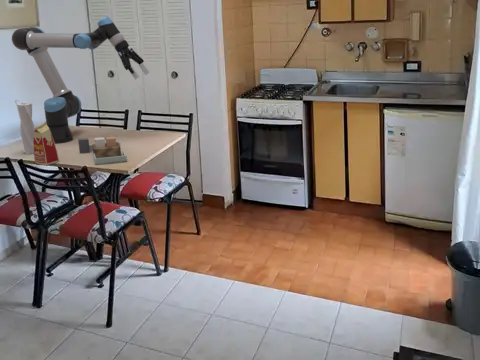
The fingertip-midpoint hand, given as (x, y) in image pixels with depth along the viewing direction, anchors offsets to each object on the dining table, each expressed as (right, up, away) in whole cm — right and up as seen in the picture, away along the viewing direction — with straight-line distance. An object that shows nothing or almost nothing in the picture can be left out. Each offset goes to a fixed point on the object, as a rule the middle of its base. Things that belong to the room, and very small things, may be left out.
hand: (142, 75), depth 310 cm
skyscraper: (-56, -43, -16) cm, 73 cm away
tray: (-11, -48, -32) cm, 58 cm away
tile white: (-17, -40, -25) cm, 50 cm away
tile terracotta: (-12, -40, -24) cm, 48 cm away
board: (-14, -45, -22) cm, 52 cm away
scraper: (-20, -42, -14) cm, 48 cm away
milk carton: (-42, -49, -33) cm, 72 cm away
